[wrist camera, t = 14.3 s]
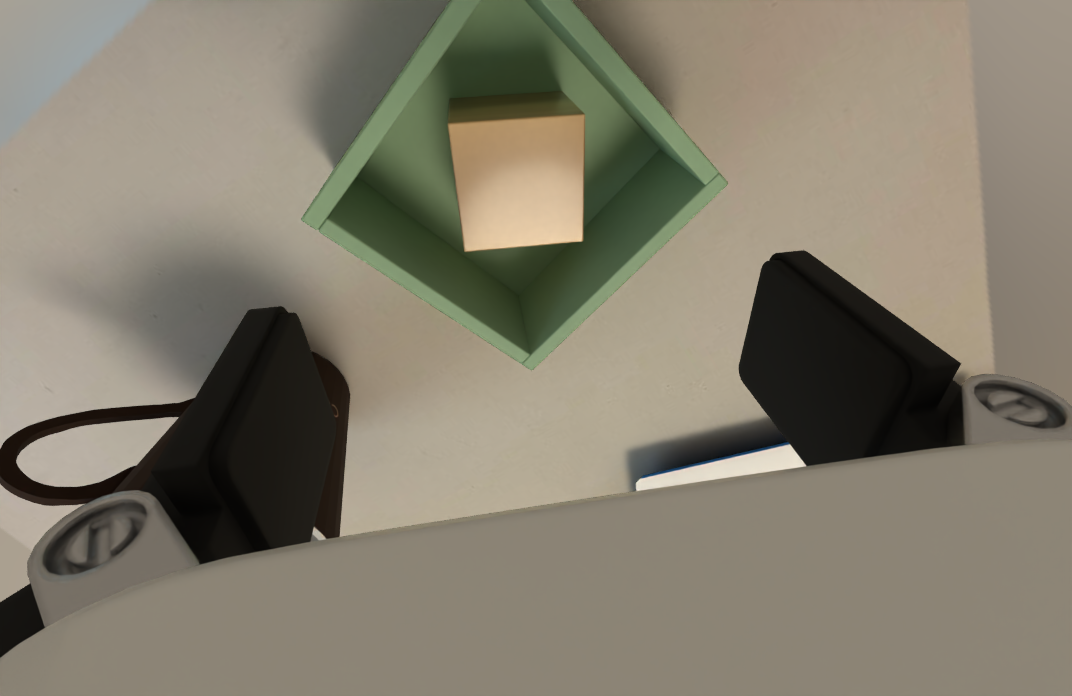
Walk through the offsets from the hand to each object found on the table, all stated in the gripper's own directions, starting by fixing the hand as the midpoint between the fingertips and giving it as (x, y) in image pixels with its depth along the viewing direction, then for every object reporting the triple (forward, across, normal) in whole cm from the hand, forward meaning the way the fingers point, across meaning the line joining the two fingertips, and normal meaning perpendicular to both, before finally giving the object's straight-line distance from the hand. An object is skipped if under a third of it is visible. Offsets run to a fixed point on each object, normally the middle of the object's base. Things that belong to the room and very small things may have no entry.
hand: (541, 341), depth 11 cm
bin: (+14, -1, 0) cm, 14 cm away
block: (+13, -1, 0) cm, 13 cm away
